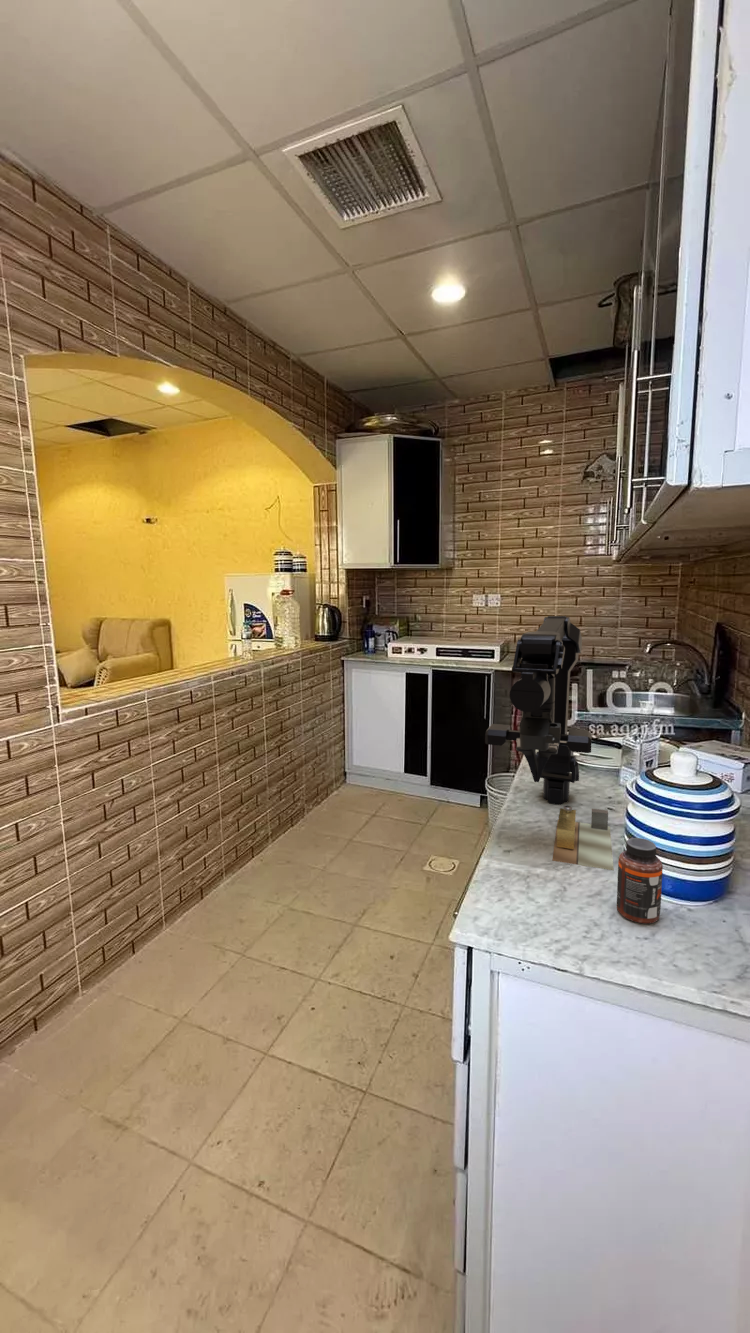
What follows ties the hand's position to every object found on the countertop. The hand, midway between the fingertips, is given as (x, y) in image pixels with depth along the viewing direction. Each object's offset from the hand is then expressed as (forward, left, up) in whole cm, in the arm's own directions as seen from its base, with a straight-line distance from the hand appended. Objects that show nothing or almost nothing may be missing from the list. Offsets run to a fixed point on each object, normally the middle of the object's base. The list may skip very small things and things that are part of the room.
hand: (536, 781), depth 100 cm
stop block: (-10, +11, -12) cm, 19 cm away
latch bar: (-3, +5, -11) cm, 13 cm away
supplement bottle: (+17, +16, -13) cm, 27 cm away
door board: (-2, +8, -13) cm, 16 cm away
